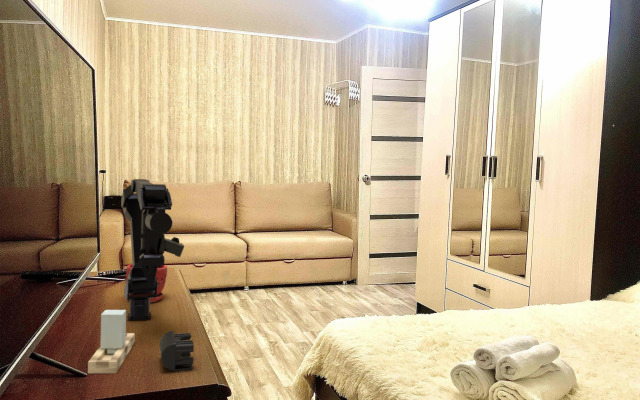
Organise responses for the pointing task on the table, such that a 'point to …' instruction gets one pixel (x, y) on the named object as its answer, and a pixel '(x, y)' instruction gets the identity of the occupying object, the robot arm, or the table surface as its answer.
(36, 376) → the table surface
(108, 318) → the block
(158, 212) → the robot arm
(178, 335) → the end cap
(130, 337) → the beam
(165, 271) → the plant pot
